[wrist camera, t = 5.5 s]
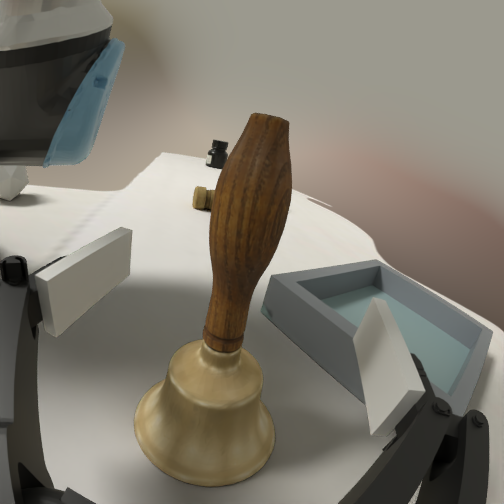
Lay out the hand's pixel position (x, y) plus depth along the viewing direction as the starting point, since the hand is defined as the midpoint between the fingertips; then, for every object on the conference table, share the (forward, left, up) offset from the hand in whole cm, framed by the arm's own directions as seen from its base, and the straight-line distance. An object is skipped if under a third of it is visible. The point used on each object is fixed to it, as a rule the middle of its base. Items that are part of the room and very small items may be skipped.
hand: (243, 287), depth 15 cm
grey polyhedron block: (-48, -20, -8) cm, 52 cm away
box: (+3, +19, -8) cm, 21 cm away
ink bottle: (-103, +57, -8) cm, 118 cm away
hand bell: (+2, -2, -8) cm, 9 cm away
